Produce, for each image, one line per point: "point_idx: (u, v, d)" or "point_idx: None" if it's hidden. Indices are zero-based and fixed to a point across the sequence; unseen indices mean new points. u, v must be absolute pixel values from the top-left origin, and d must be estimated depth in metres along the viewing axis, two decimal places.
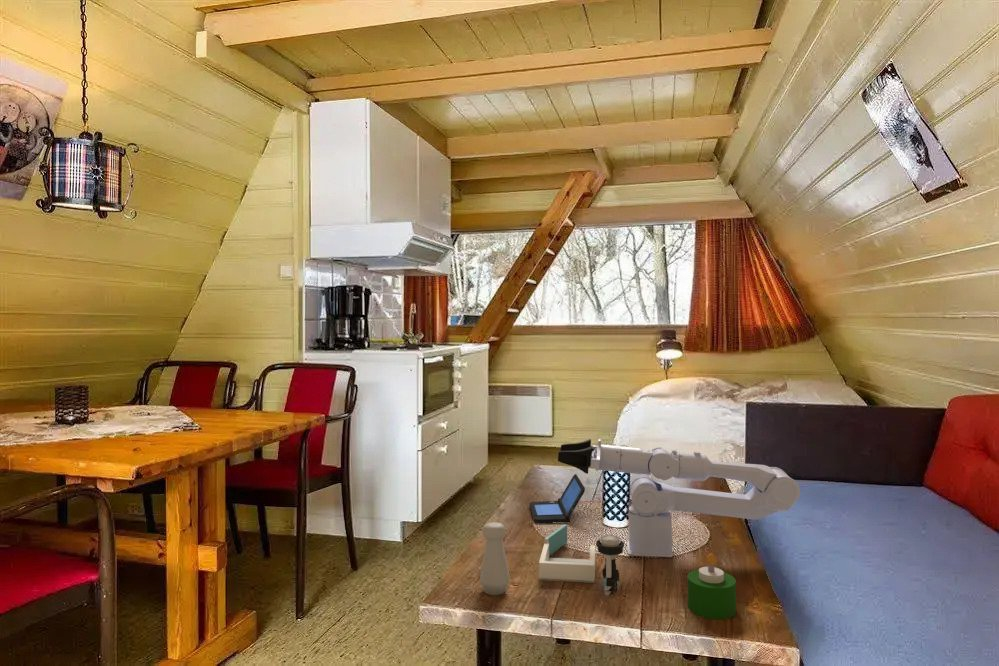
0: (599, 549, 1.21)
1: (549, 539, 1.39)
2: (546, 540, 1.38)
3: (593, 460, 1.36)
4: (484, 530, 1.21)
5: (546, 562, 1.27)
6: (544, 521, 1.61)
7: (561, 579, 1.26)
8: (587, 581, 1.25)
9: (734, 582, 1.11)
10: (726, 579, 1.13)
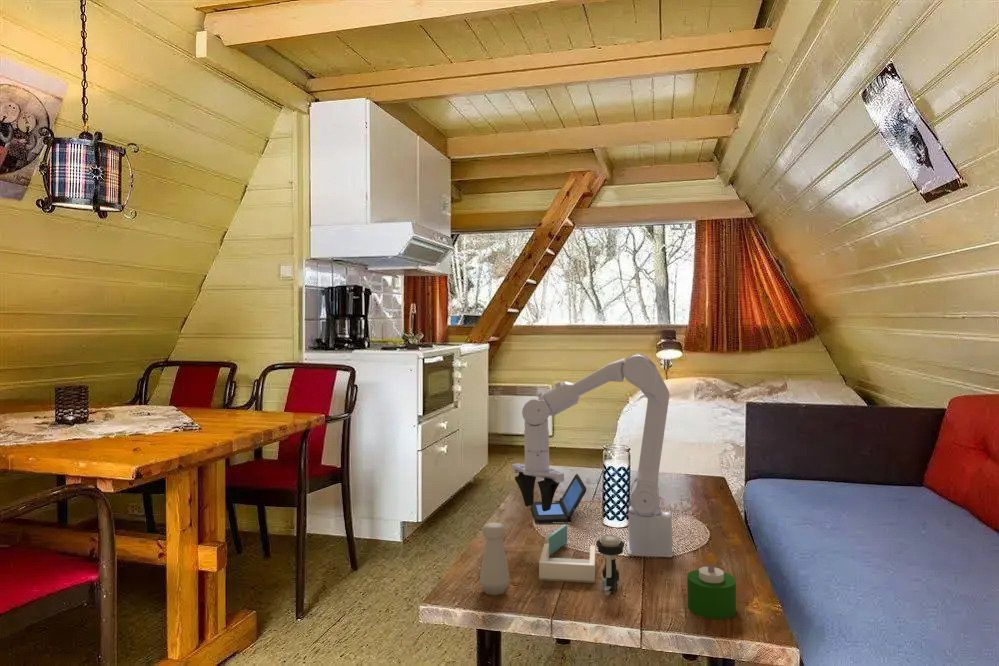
0: (599, 549, 1.21)
1: (549, 539, 1.39)
2: (546, 540, 1.38)
3: (559, 480, 1.41)
4: (484, 530, 1.21)
5: (546, 562, 1.27)
6: (545, 521, 1.61)
7: (561, 579, 1.26)
8: (587, 581, 1.25)
9: (734, 582, 1.11)
10: (726, 579, 1.13)
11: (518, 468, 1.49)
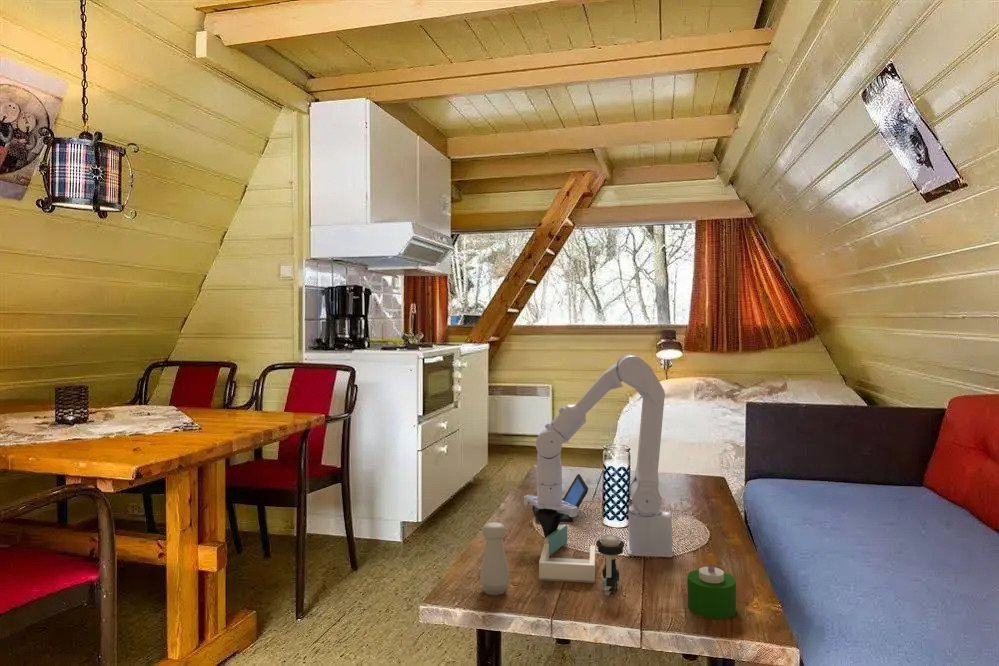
0: (599, 549, 1.21)
1: (549, 539, 1.39)
2: (546, 540, 1.38)
3: (572, 514, 1.39)
4: (484, 530, 1.21)
5: (546, 562, 1.27)
6: None
7: (561, 579, 1.26)
8: (587, 581, 1.25)
9: (734, 582, 1.11)
10: (727, 579, 1.13)
11: (530, 500, 1.46)
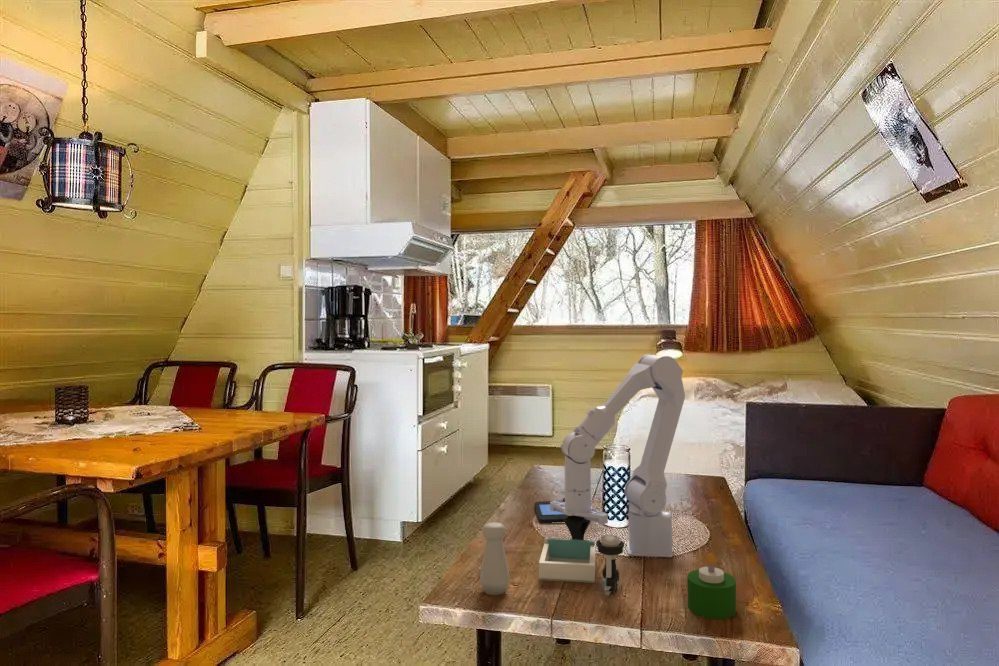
0: (599, 549, 1.21)
1: (549, 540, 1.38)
2: (544, 540, 1.38)
3: (603, 522, 1.33)
4: (484, 530, 1.21)
5: (546, 562, 1.27)
6: (549, 521, 1.61)
7: (561, 579, 1.26)
8: (587, 581, 1.25)
9: (734, 582, 1.11)
10: (727, 579, 1.13)
11: (557, 507, 1.41)
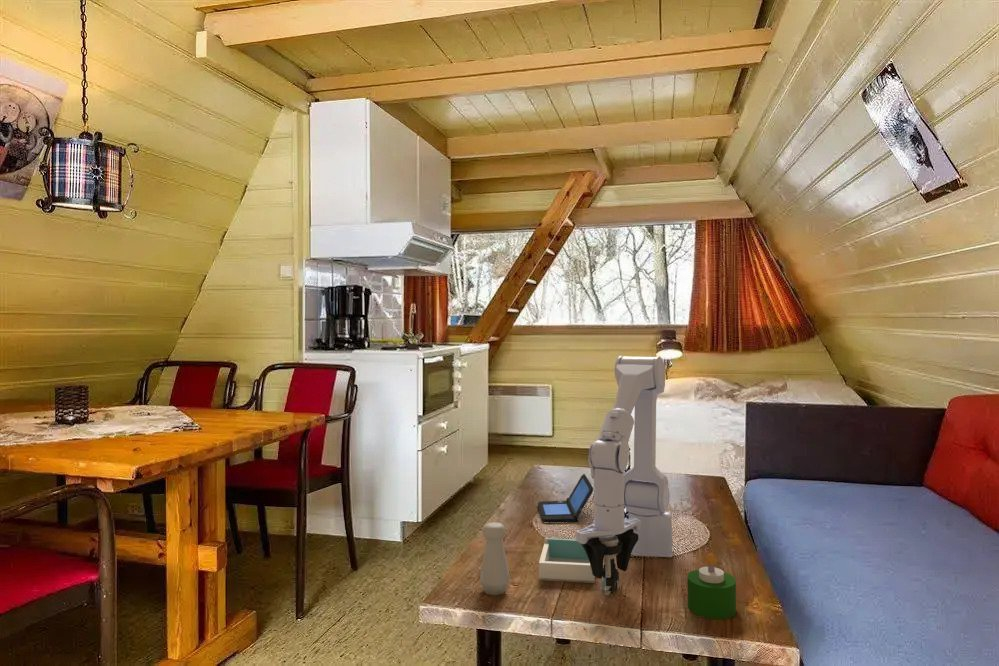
0: None
1: (549, 540, 1.38)
2: (544, 539, 1.38)
3: (576, 538, 1.18)
4: (484, 530, 1.21)
5: (546, 562, 1.27)
6: (552, 521, 1.61)
7: (561, 579, 1.26)
8: (587, 581, 1.25)
9: (734, 582, 1.11)
10: (726, 579, 1.13)
11: None
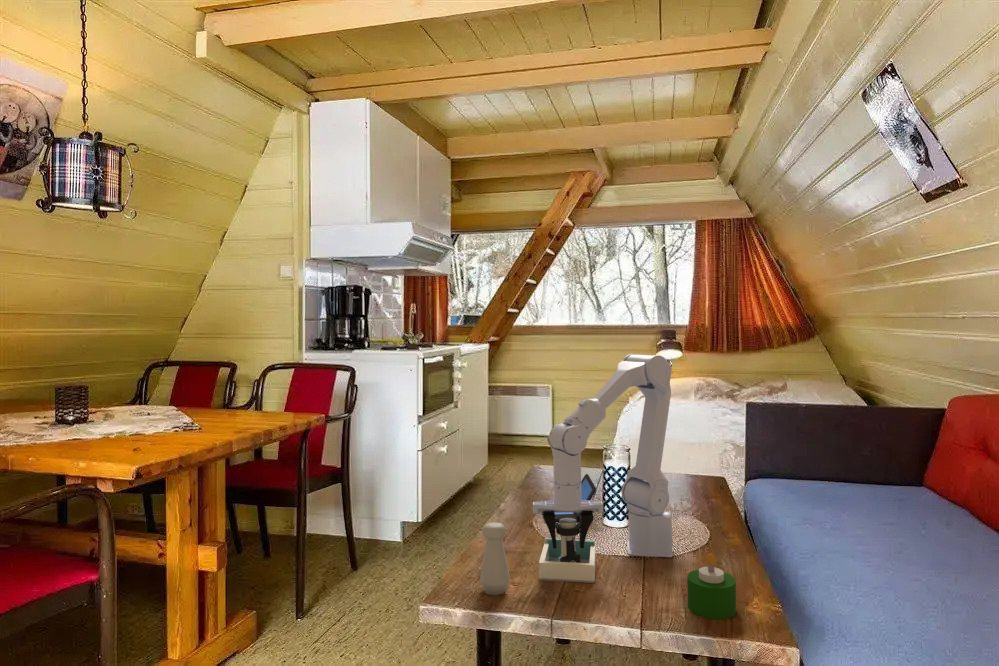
0: (556, 529, 1.31)
1: (549, 540, 1.38)
2: (544, 539, 1.38)
3: None
4: (484, 530, 1.21)
5: (546, 562, 1.27)
6: None
7: (561, 579, 1.26)
8: (587, 581, 1.25)
9: (734, 582, 1.11)
10: (726, 579, 1.13)
11: None
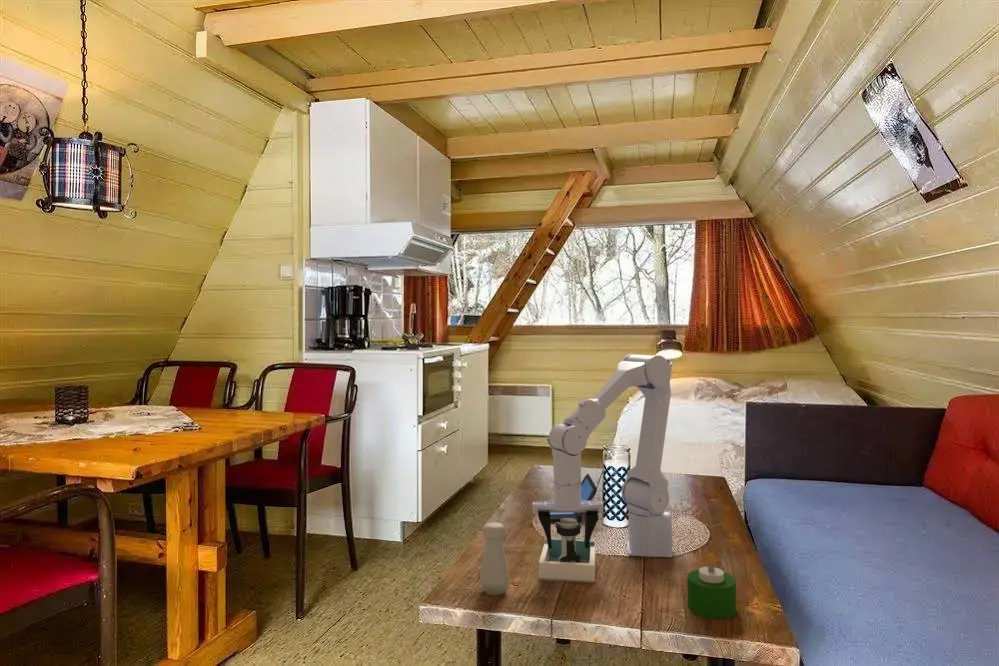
0: None
1: None
2: (544, 539, 1.38)
3: None
4: (484, 530, 1.21)
5: (546, 562, 1.27)
6: (556, 520, 1.61)
7: (561, 579, 1.26)
8: (587, 581, 1.25)
9: (734, 582, 1.11)
10: (726, 579, 1.13)
11: None
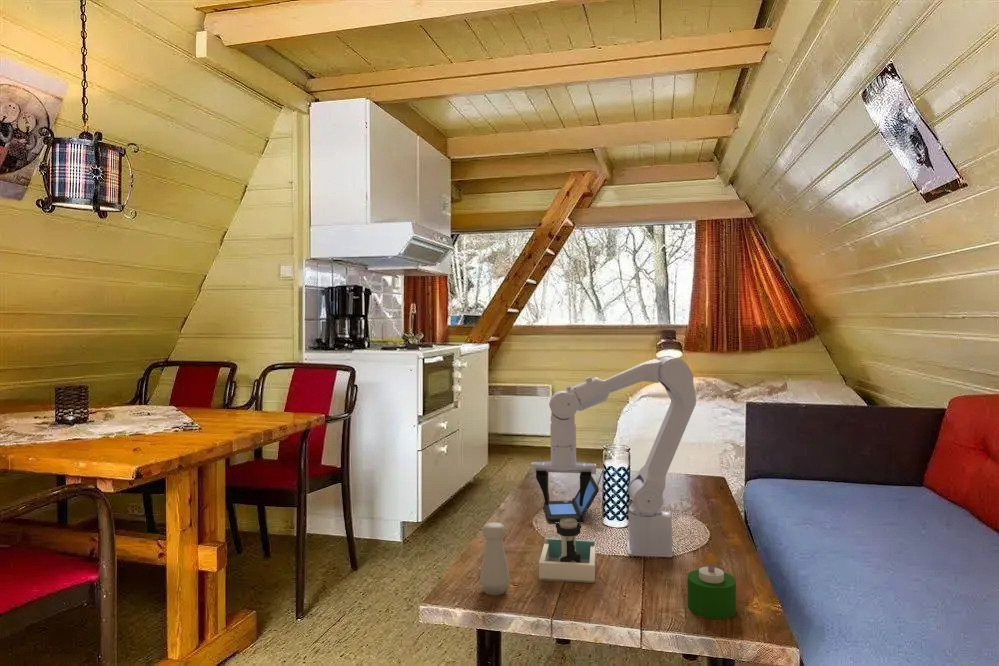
0: None
1: (549, 540, 1.38)
2: (544, 539, 1.38)
3: None
4: (484, 530, 1.21)
5: (546, 562, 1.27)
6: (558, 520, 1.61)
7: (561, 579, 1.26)
8: (587, 581, 1.25)
9: (734, 582, 1.11)
10: (726, 579, 1.13)
11: None
